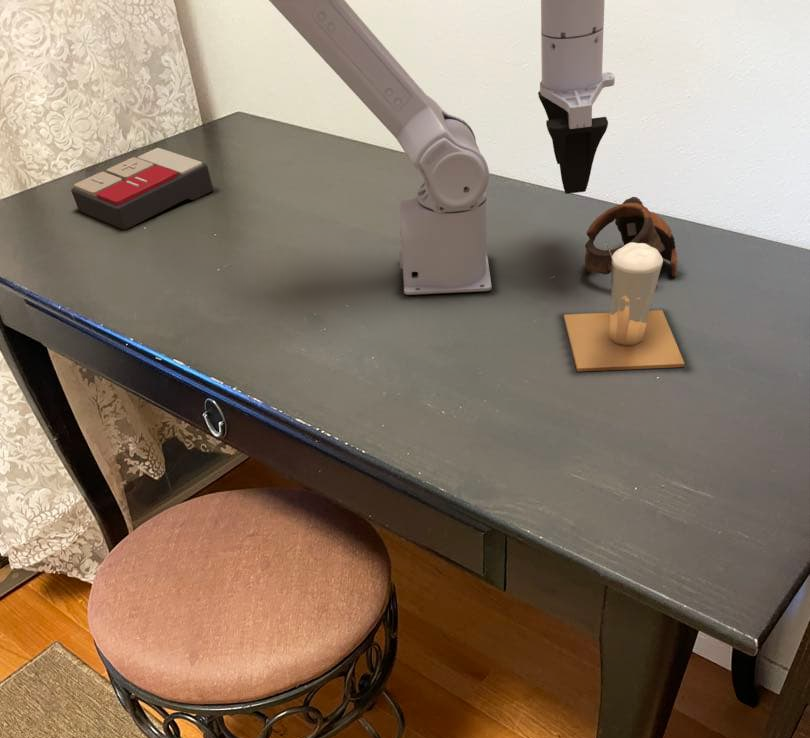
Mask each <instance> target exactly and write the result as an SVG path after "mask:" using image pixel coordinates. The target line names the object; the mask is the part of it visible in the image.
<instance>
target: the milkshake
mask: <svg viewBox="0 0 810 738" xmlns="http://www.w3.org/2000/svg"><path fill="white" fill-rule="evenodd" d="M605 244H606V247H607V250H609V253H610V250H611V249H610V247H609V244H608V242H607V241H605ZM622 246H623V247H622ZM622 246H621V247H622V248H620V249H618V250H617V251H616V252H615V253H614V254H613V256H612V255H611V253H610V256H611V259H612V272H611V273H610V274H611V275H610V276H611V277H610V279H611V282H610V284H611V288H610V289H611V299H610V302H611V303H610V312H611V317H610V339H611V340H612V341H613V342H615V343H616V344H621V345H625V346H627V345H636V344H637V343H639V342H641V341H642V340H643V336H644V332H645V328H646V324H647V320H648V315H649V311H651V307H652V303H653V299H654V295H655V292H656V288H657V285H658V281H659V278H660V274H661V270H662V267H663V263H664V258H662V256H661V255H660V253H659V252H658V250H657V249H655V248H653V247H651V246H649V245H647V244H645V243H634V242H631V243H628V244H626V245H625V246H624V245H622Z"/></svg>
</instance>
